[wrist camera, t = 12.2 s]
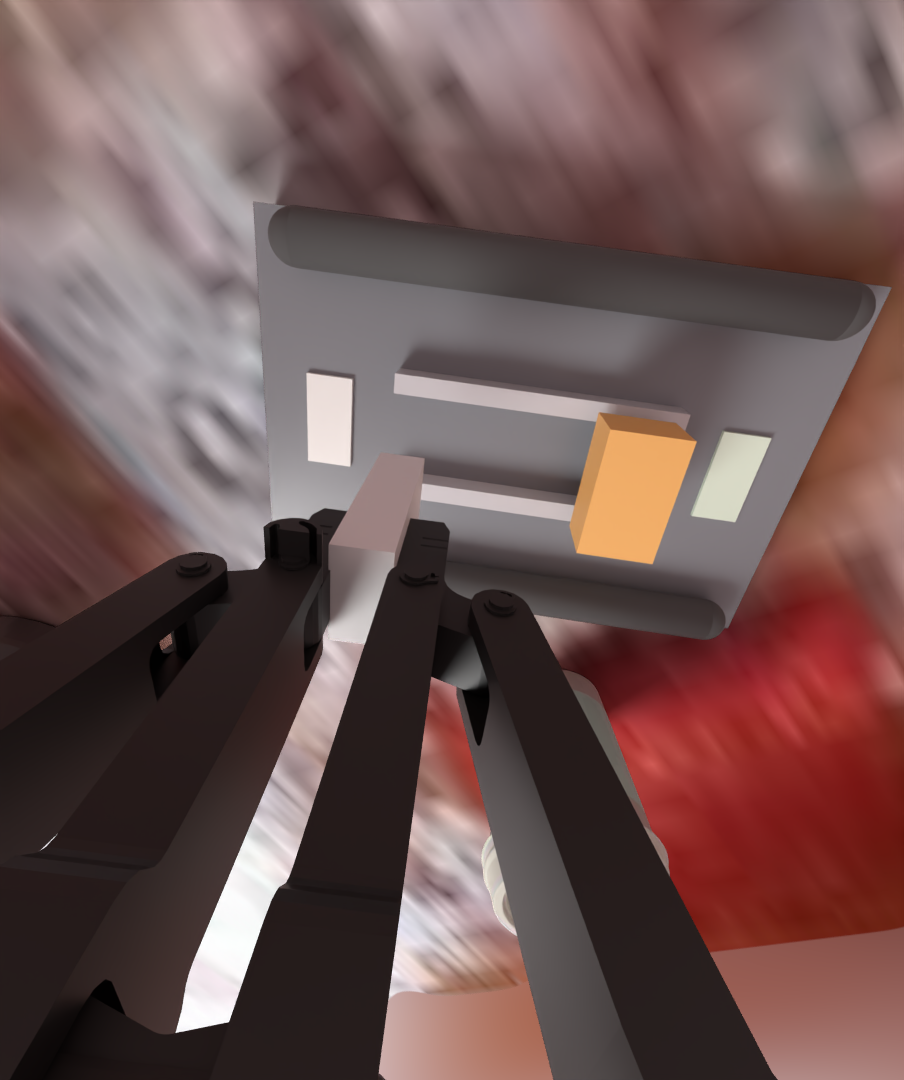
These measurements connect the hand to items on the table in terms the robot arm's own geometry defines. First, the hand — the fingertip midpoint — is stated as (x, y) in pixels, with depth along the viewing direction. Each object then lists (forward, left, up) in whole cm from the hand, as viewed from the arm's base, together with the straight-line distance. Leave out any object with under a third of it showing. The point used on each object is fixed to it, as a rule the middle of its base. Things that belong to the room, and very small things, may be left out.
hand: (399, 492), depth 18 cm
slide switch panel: (+5, 0, -8) cm, 9 cm away
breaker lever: (+8, 0, -6) cm, 10 cm away
